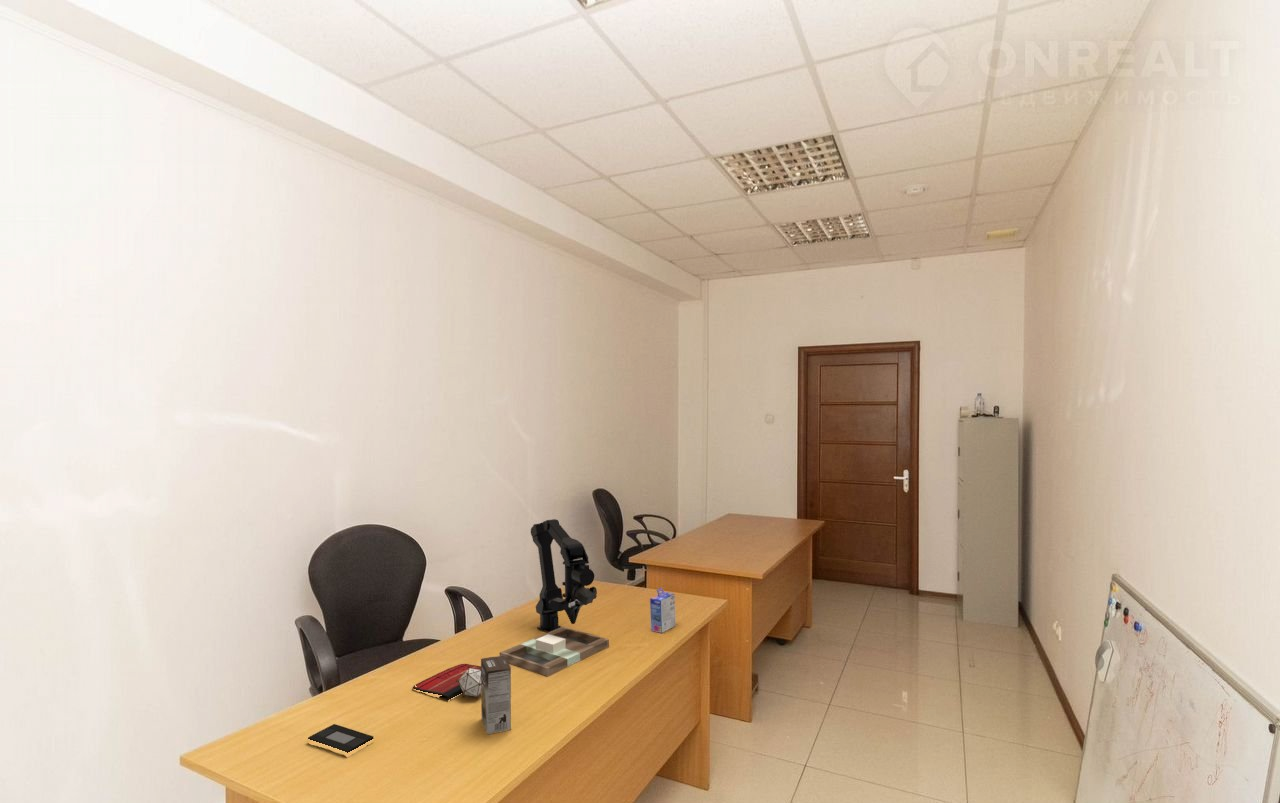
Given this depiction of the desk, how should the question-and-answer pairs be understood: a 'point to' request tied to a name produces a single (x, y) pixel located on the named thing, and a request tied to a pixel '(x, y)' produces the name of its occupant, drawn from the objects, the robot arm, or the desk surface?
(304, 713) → the desk surface
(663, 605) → the ink cartridge box
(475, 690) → the game die
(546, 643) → the cream block
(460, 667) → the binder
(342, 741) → the black computer chip
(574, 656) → the trap deck
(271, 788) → the desk surface
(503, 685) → the coffee box
